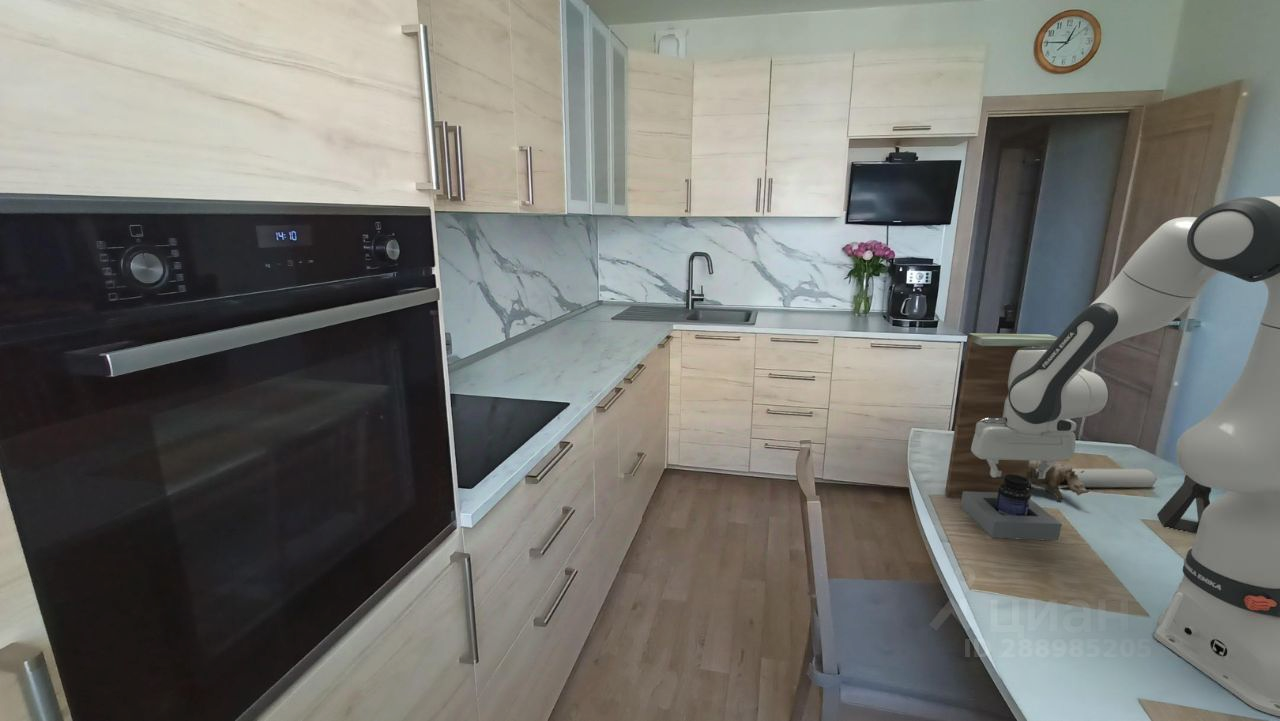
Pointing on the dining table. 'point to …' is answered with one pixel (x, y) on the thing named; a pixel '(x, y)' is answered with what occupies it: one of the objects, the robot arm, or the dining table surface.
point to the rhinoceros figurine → (1056, 479)
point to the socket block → (1009, 518)
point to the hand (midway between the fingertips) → (1017, 477)
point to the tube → (1115, 478)
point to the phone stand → (1185, 506)
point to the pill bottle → (1013, 496)
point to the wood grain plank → (985, 408)
